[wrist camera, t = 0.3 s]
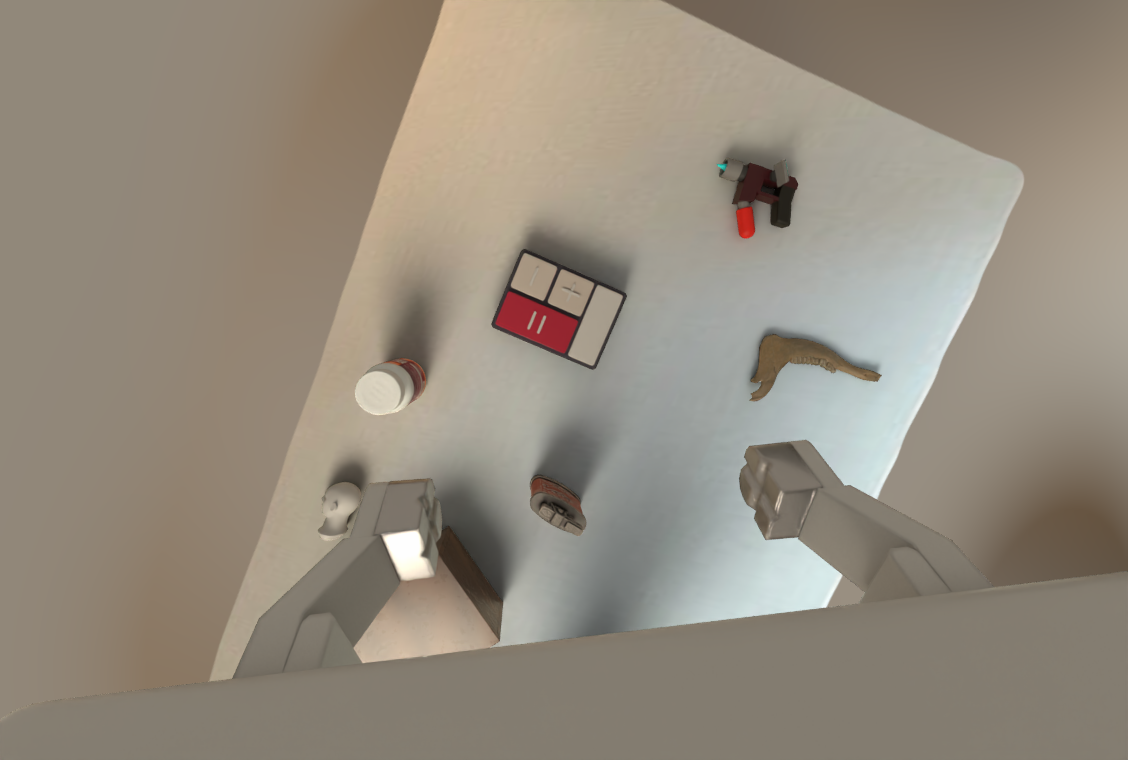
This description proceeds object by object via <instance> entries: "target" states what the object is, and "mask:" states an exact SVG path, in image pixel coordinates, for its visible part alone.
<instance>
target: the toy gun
mask: <svg viewBox="0 0 1128 760" xmlns="http://www.w3.org/2000/svg"><path fill="white" fill-rule="evenodd" d="M717 165H718V166H719V167H720V168H721V169H720V173H719V176H720V177H722V178H725V179H728V180H731V181H739V183H738V186H737V189H736V193H735V196H734V199H733V203H732V204H738V210H737V211H736V214H737V222H738V230H739V235H740V236H741V237H742V238H750V237H752V236H753V235H754V233H755V225H754V217H753V209H752V207H750V206H749V204H750V203H751V202H753V201H754V200H755V199H756V200H759V201H762V202H765V203H768V204H772V206H771V224H772V225H774V226H777V227H780V228H784V227H787V226H789V225H790V218H791V202H792V199H793V196H794V193H795V190H797V187H798V183H797V181H796V179H795V178H794V177H791V176H788V170H787V164H786V160H782V161H780V162H779V163H777V164H776V165H774V169H775V170H774V171H773V170H770V169H767V168H764V167H762V166H759V165H756V164H753V163H749V164H748V165H744V164H743V162H740V161H737V160H734V159H731V158H726V159H725V161H724V162H723V164H717ZM762 185H763V186H766V187H769V188H772V189H775V190H774V193H773V195H771V194H768V193H765V192H762V191H761V187H762Z"/></svg>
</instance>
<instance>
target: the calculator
mask: <svg viewBox="0 0 1128 760" xmlns="http://www.w3.org/2000/svg"><path fill="white" fill-rule="evenodd" d="M626 297H627V295H626V293H624V292H622V291H619V290H617V289H615V288H613V287H610V286H608V285H606V284H603V283H601V282H599V281H597V280H594V279H592V278H590V277H587V276H585V275H583V274H581V273H578V272H576V271H574V270H571V269H569V268H567V267H565V266H562V265H560V264H558V263H555V262H553V261H551V260H549V259H546V258H544V257H542V256H539V255H537V254H535V253H533V252H530V251H528V250H526V249H523V250H522V251H521V253H520V255H519V257H518V260H517V262H516V265H515V267H514V270H513V272H512V275H511V277H510V279H509V282H508V284H507V287H506V289H505V292H504V294H503V297H502V299H501V301H500V304H499V306H498V309H497V311H496V314H495V316H494V319H493V321H492V324H491V325H492V327H493V328H495V329H497V330H500V331H502V332H505V333H507V334H509V335H512V336H514V337H516V338H519V339H521V340H523V341H526V342H528V343H531V344H533V345H535V346H538V347H540V348H542V349H545V350H547V351H549V352H552V353H554V354H556V355H559V356H561V357H564V358H566V359H568V360H571V361H573V362H575V363H578V364H580V365H582V366H585V367H587V368H589V369H592V370H593V369H595V368H596V367H597V364H598V362H599V360H600V357H601V355H602V353H603V350H604V348H605V346H606V343H607V341H608V339H609V337H610V334H611V332H612V330H613V327H614V325H615V323H616V320H617V318H618V316H619V313H620V311H621V309H622V306H623V304H624V302H625V299H626Z"/></svg>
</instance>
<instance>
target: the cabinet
mask: <svg viewBox="0 0 1128 760" xmlns="http://www.w3.org/2000/svg"><path fill="white" fill-rule="evenodd" d="M436 546H437V549H438V552H439V553H438V560H437V567H436V574H435V577H429V578H422V579H415V580H408V581H401V582H400V585H399V586H398V587H397V589H396V590H395V592H394V593H393V594H392V596H391V597H390V598H389V600H388V601H387V603H386V604H385V605H384V607H383V608H382V609H381V611H380V612H379V614H378V615H377V616H376V618H375V619H374V620H373V622H372V623H371V625H370V626H369V627H368V629H367V630H366V631H365V633H364V634H363V636H362V637H361V638H360V640H359V641H358V642H357V644H356V645H355V647H354V650H355V652H356V653H357V655H358V657H359V658H360V660H361V661H362V663H369V662H377V661H385V660H394V659H402V658H410V657H419V656H427V655H435V654H444V653H452V652H460V651H469V650H477V649H485V648H490V647H491V646H493V645H495V644H496V643H498V642H499V641H500V632H501V621H502V610H503V602H502V601H501V599H500V598H499V597H498V595H497V594H496V592H495V591H494V589H493V588H492V586H491V585H490V584H489V582H488V581H487V579H486V578H485V576H484V575H483V574H482V572H481V571H480V569H479V568H478V566H477V565H476V563H475V562H474V561H473V559H472V558H471V556H470V555H469V553H468V552H467V551H466V549H465V548H464V546H463V545H462V543H461V542H460V540H459V539H458V538H457V536H456V535H455V533H454V532H453V530H452V529H451V528H450V526H448V527H446V528H445V529H443V530H442V531H441V537H440V539H439V540H438V541H437V542H436Z"/></svg>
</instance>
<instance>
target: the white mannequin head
mask: <svg viewBox="0 0 1128 760" xmlns="http://www.w3.org/2000/svg"><path fill="white" fill-rule="evenodd" d="M360 501H361V492H360V490H359V488H358V487H357V486H356V485H354V484H352V483H348V482H342V483H337V484H334V485H332V486H331V487H329V488H328V489H327V491H326V493H325V495H324V496H323V497H322V502H323V503H322V514H323V515H324V516H325V517H326V520H325V522H324V524H323V526H322V527H320V528H319V529H318V533H319V536H320V538H321V539H322V540H334V539H338V538H340V537H341V536H342V535H343V534H344V533H346V532H347V530H348V528H347V520H348V517H349V515H350V514H351V513H352V512H353V511H354V510H355V509H356V508H357V507H358V505H359V503H360Z"/></svg>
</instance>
